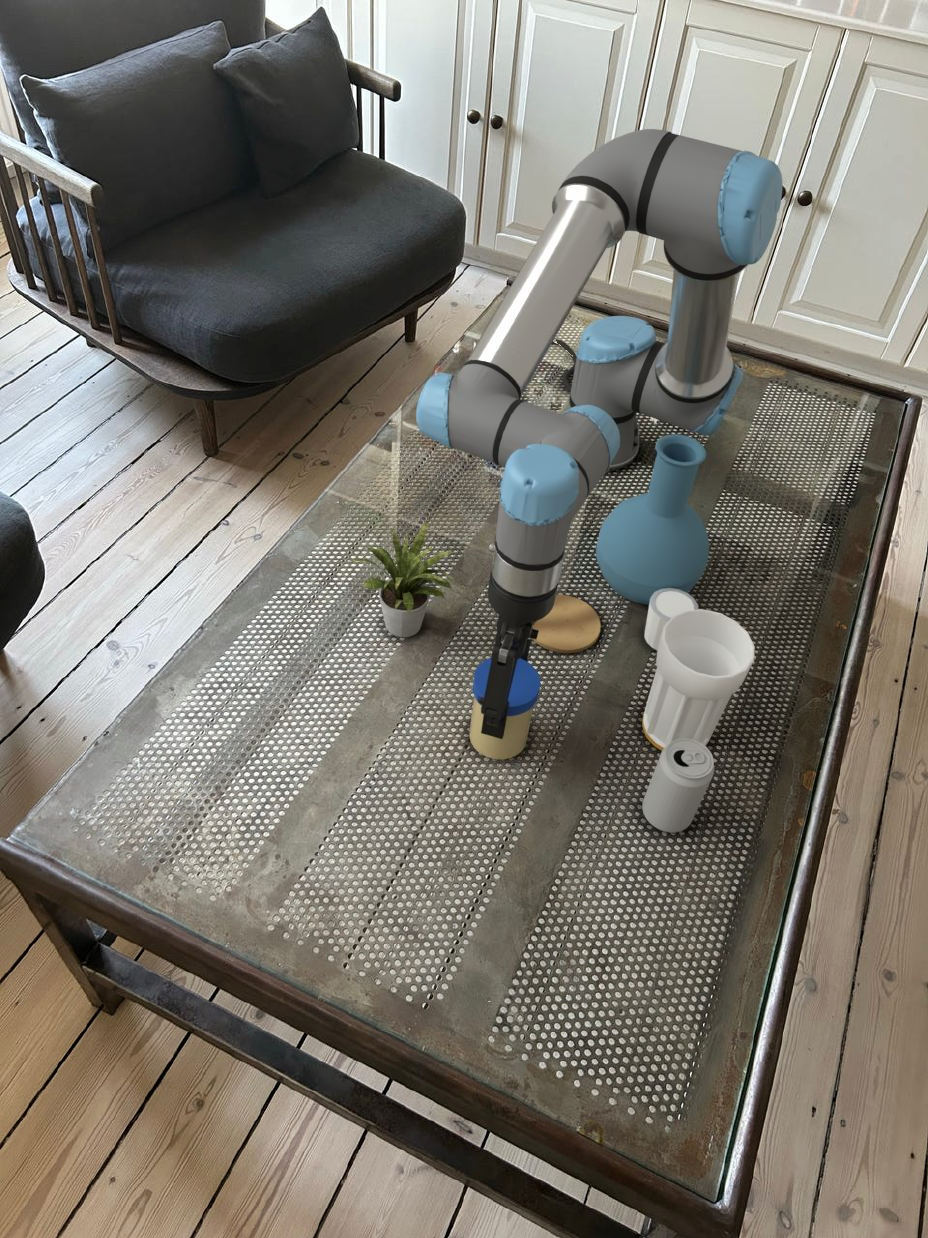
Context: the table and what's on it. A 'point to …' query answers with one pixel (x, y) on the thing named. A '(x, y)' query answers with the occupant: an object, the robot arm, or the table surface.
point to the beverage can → (678, 785)
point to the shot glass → (665, 611)
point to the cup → (695, 676)
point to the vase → (657, 529)
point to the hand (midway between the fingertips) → (503, 702)
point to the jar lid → (521, 689)
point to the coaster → (568, 626)
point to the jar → (511, 740)
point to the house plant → (406, 584)
